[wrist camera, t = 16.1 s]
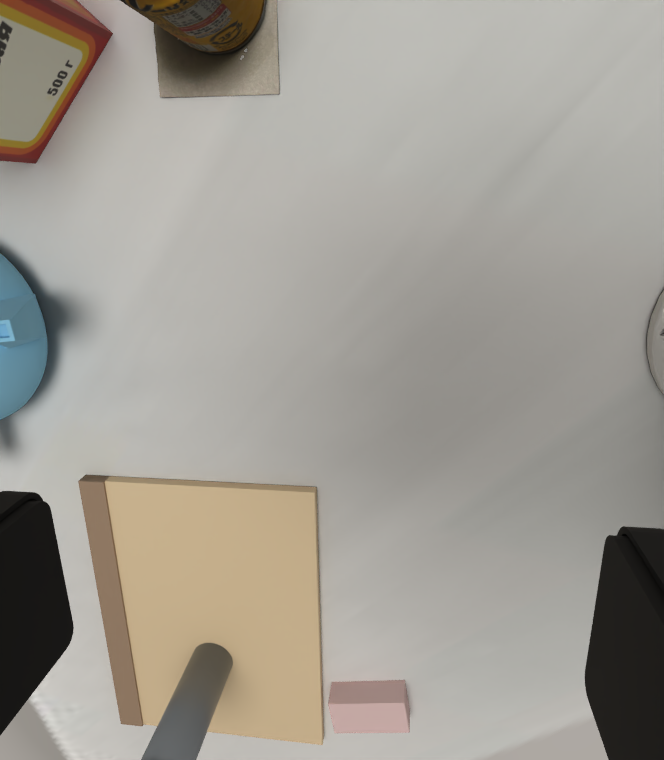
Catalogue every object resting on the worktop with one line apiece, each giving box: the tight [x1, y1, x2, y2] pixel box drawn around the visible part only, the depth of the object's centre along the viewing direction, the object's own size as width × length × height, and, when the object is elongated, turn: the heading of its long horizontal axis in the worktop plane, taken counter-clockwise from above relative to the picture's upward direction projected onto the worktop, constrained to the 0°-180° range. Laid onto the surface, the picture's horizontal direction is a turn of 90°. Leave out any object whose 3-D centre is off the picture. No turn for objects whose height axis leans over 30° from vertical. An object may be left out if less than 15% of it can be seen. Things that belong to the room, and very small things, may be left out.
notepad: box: [78, 475, 324, 745], centre depth 46 cm, size 18×24×1 cm
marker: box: [141, 643, 233, 760], centre depth 41 cm, size 4×4×12 cm
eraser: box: [328, 680, 410, 733], centre depth 46 cm, size 6×3×2 cm, turn 100°
